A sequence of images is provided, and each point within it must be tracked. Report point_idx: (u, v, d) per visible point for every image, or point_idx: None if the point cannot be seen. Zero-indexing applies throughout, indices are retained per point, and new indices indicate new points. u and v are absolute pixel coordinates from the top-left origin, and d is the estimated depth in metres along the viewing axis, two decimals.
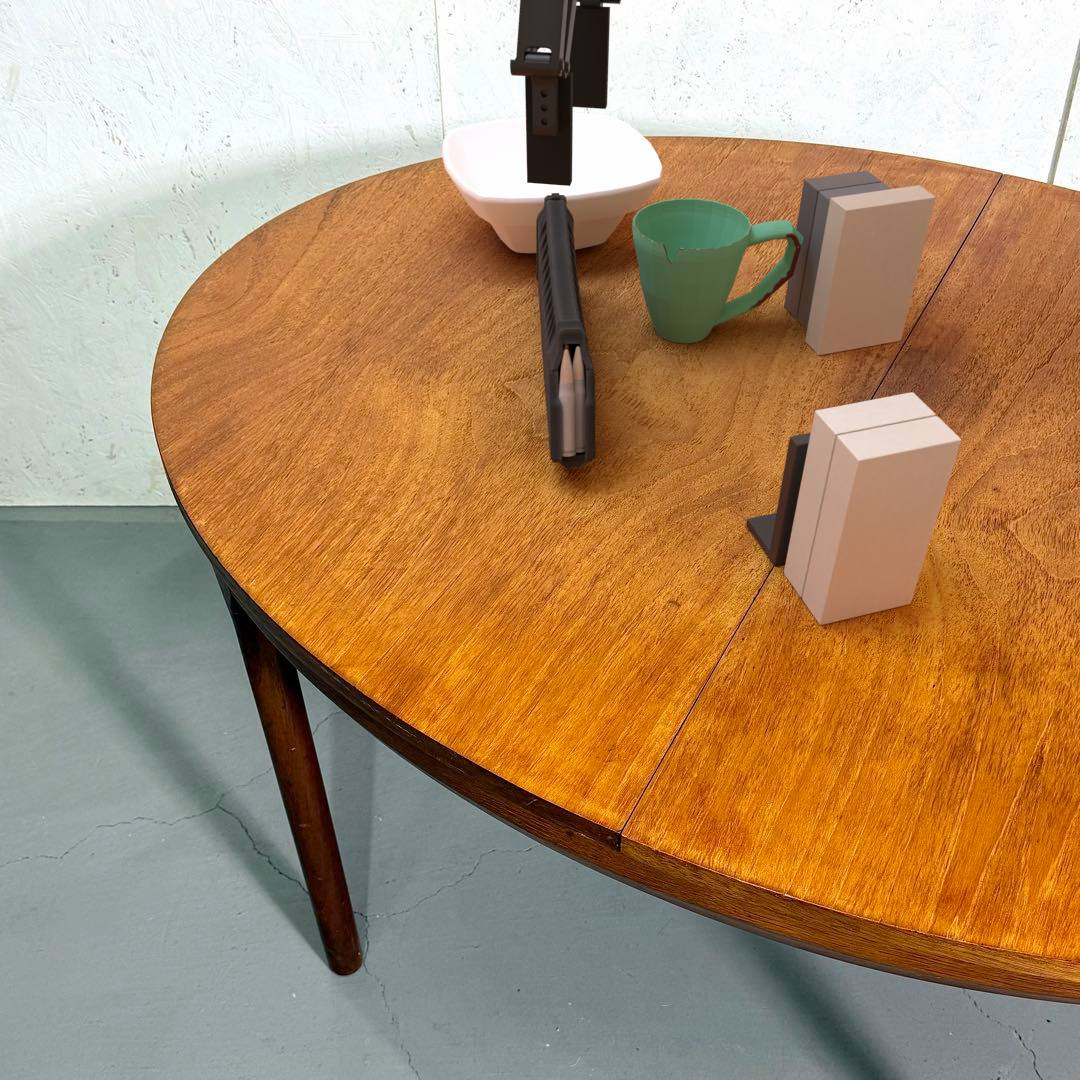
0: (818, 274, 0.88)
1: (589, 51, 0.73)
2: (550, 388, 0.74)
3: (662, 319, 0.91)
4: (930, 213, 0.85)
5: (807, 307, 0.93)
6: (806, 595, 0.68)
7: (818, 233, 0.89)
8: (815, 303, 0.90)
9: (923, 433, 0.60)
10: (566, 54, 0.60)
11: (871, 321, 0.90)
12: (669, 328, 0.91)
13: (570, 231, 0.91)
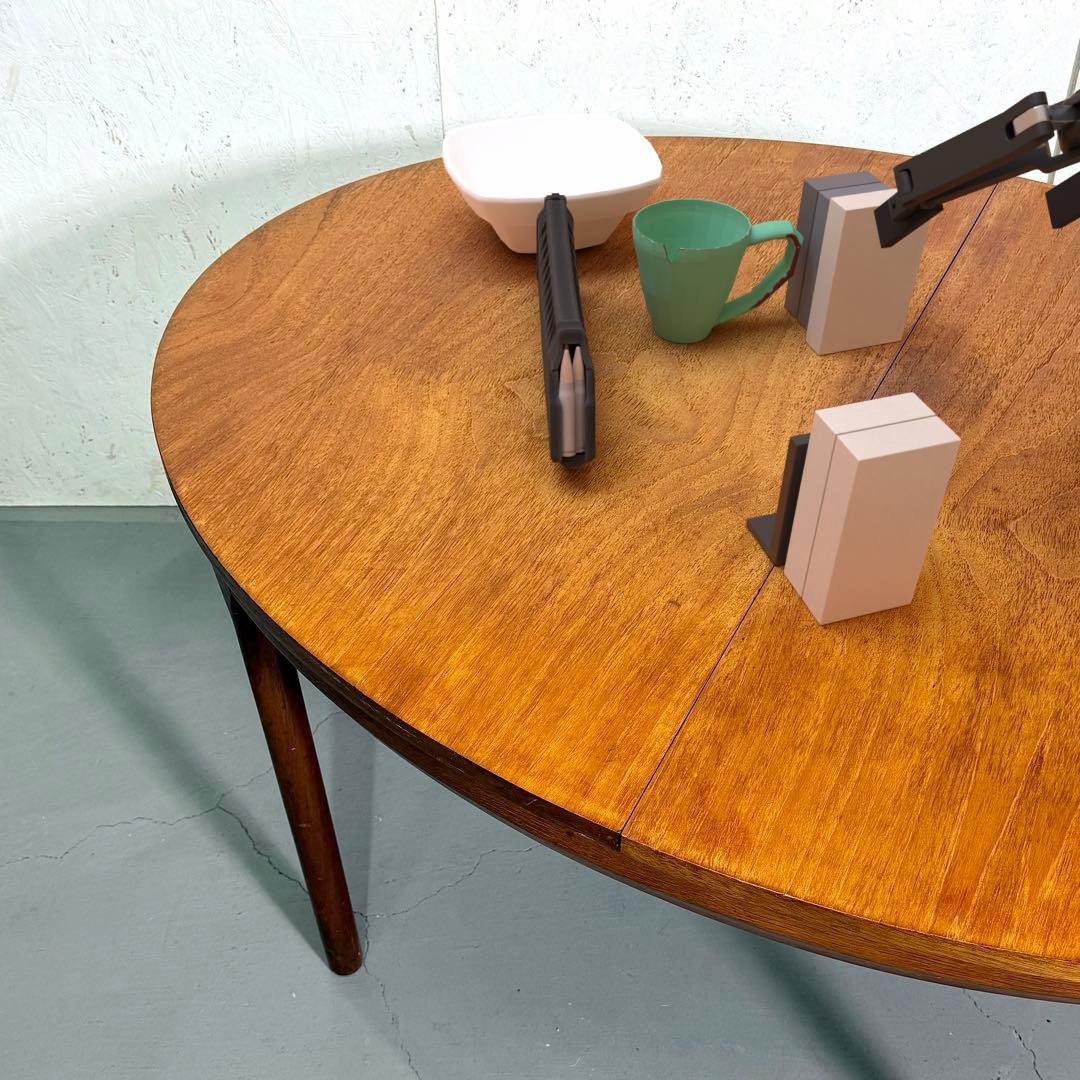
0: (818, 274, 0.88)
1: None
2: (550, 388, 0.74)
3: (662, 319, 0.91)
4: None
5: (807, 307, 0.93)
6: (806, 595, 0.68)
7: (818, 233, 0.89)
8: (815, 303, 0.90)
9: (923, 433, 0.60)
10: None
11: (871, 321, 0.90)
12: (669, 328, 0.91)
13: (570, 231, 0.91)
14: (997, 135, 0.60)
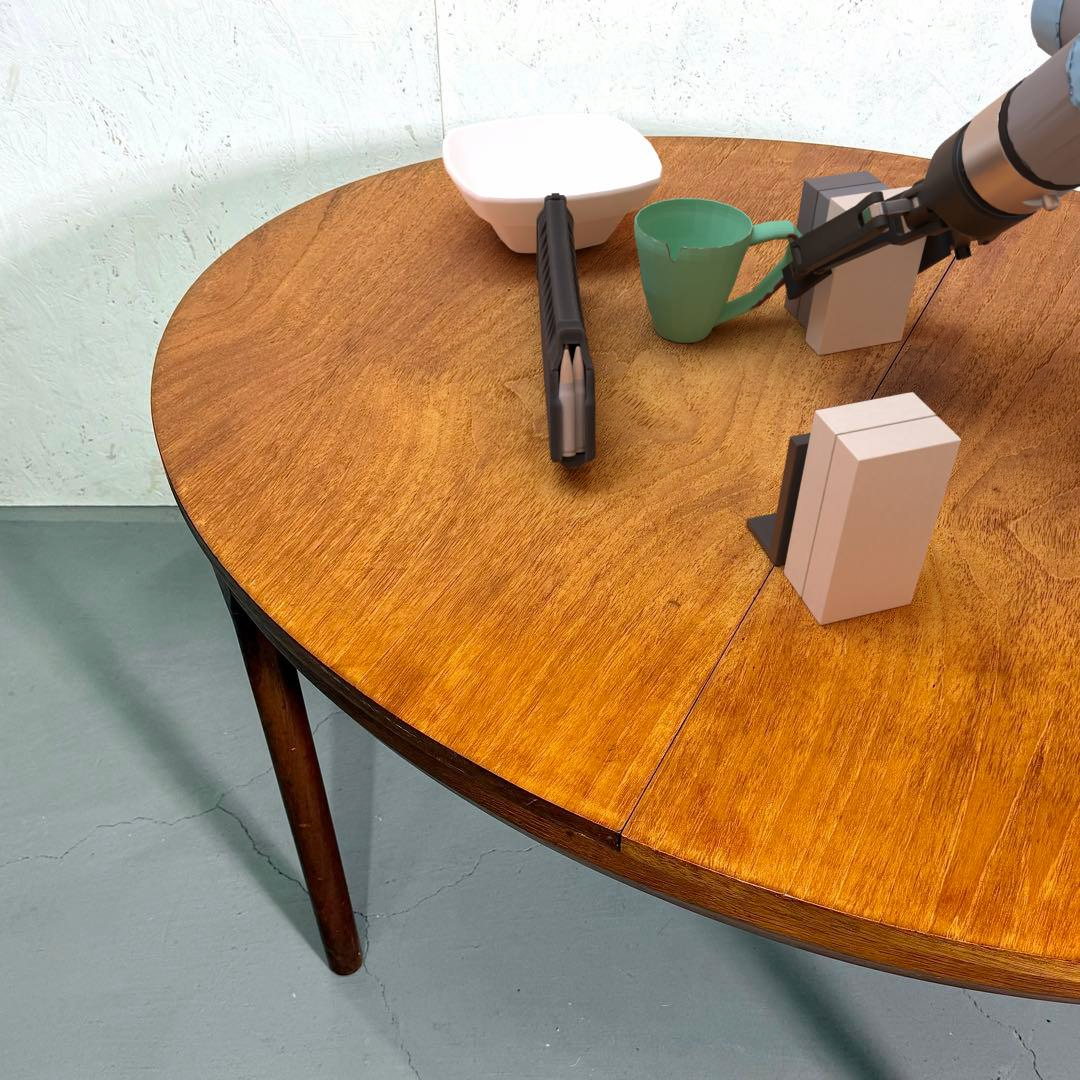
0: None
1: None
2: (550, 388, 0.74)
3: (663, 318, 0.91)
4: None
5: (807, 307, 0.93)
6: (806, 595, 0.68)
7: None
8: (815, 303, 0.90)
9: (923, 433, 0.60)
10: None
11: (871, 321, 0.90)
12: (670, 327, 0.91)
13: (570, 231, 0.91)
14: (853, 223, 0.76)
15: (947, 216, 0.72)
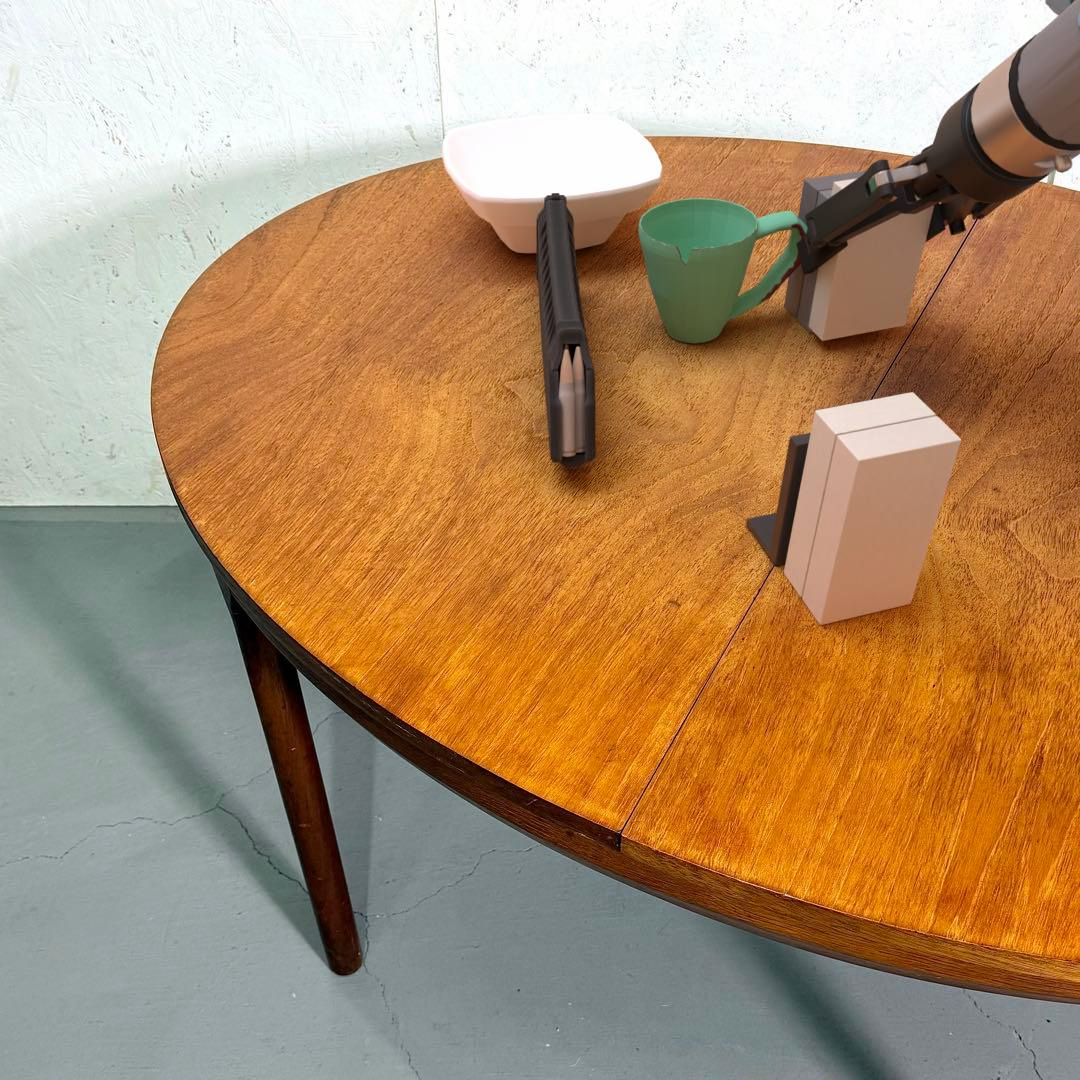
0: None
1: None
2: (550, 388, 0.74)
3: (676, 321, 0.91)
4: None
5: (807, 307, 0.93)
6: (806, 595, 0.68)
7: None
8: (819, 288, 0.89)
9: (923, 433, 0.60)
10: None
11: (875, 306, 0.90)
12: (684, 329, 0.91)
13: (570, 231, 0.91)
14: (861, 193, 0.75)
15: (956, 181, 0.70)
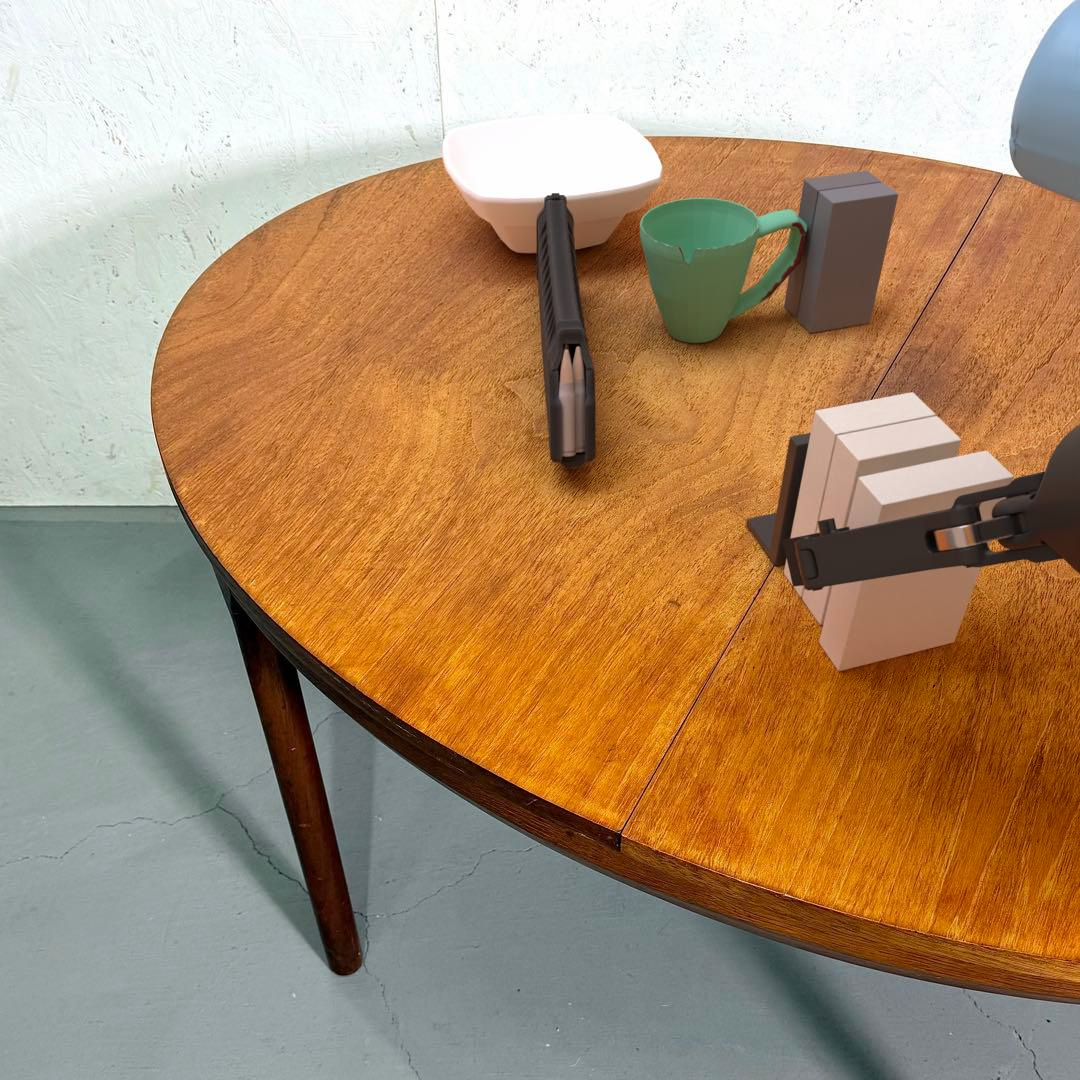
0: None
1: None
2: (550, 388, 0.74)
3: (679, 321, 0.91)
4: None
5: (807, 307, 0.93)
6: (806, 595, 0.68)
7: (818, 233, 0.89)
8: (835, 603, 0.63)
9: (923, 433, 0.60)
10: None
11: (914, 626, 0.63)
12: (686, 329, 0.91)
13: (570, 231, 0.91)
14: (916, 542, 0.47)
15: (1077, 563, 0.43)
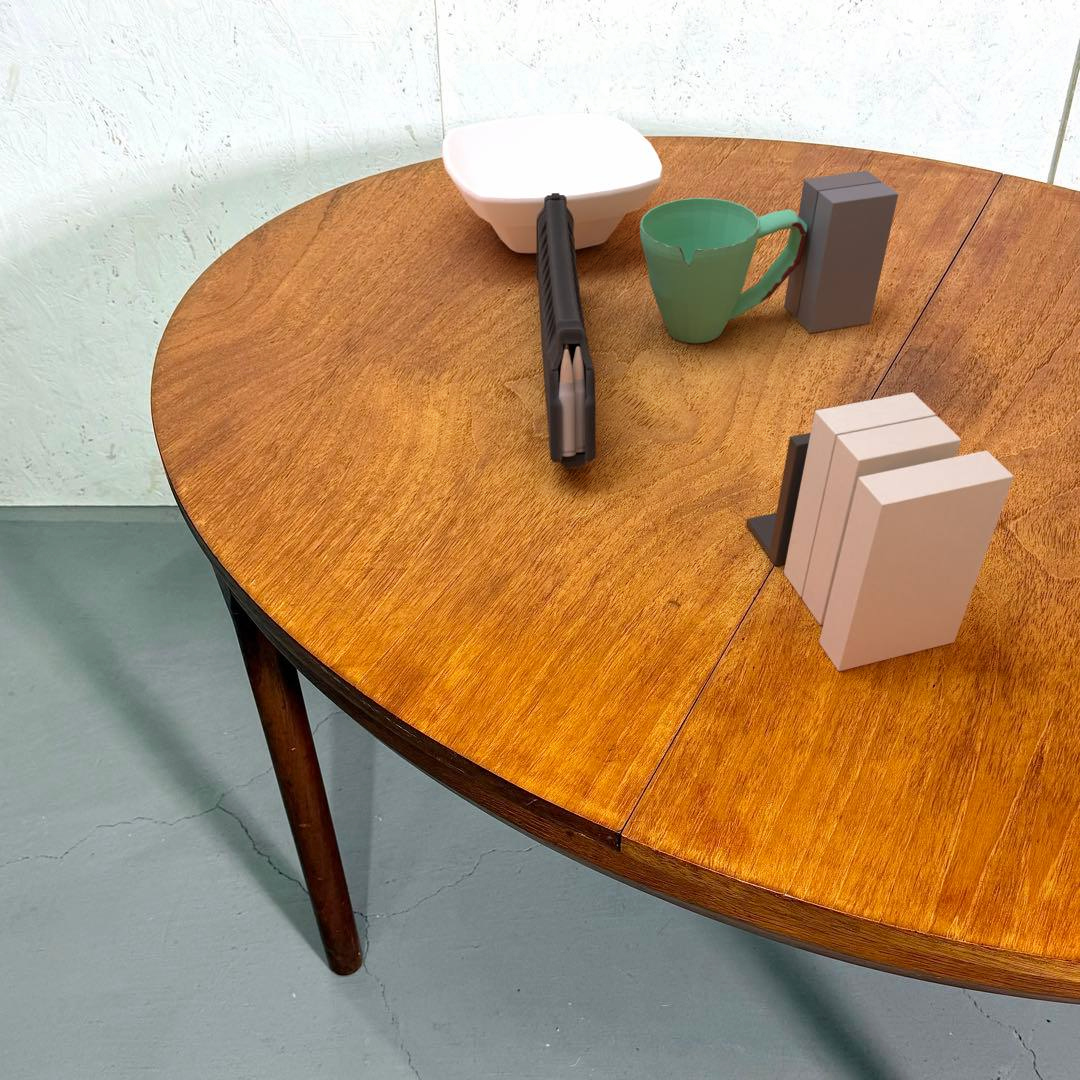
0: (839, 568, 0.61)
1: None
2: (550, 388, 0.74)
3: (679, 322, 0.91)
4: (1004, 496, 0.58)
5: (807, 307, 0.93)
6: (806, 595, 0.68)
7: (818, 233, 0.89)
8: (835, 603, 0.63)
9: (923, 433, 0.60)
10: None
11: (914, 626, 0.63)
12: (686, 330, 0.91)
13: (570, 231, 0.91)
14: None
15: None
